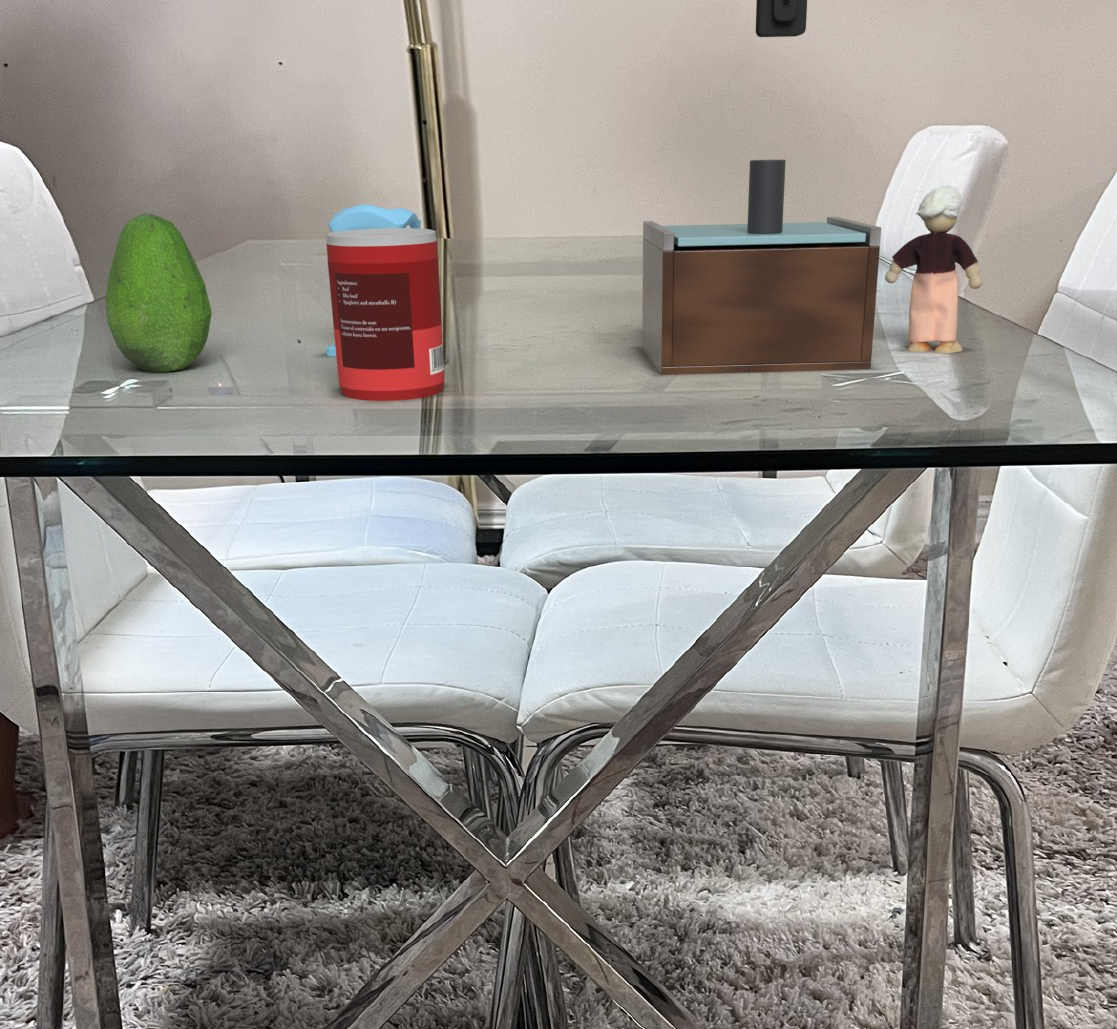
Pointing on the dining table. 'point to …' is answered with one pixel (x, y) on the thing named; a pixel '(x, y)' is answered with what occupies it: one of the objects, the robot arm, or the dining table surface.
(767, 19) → the robot arm
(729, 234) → the lid
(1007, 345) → the dining table surface
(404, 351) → the canned food
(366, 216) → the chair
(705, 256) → the box
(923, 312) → the grandmother figurine
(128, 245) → the avocado
